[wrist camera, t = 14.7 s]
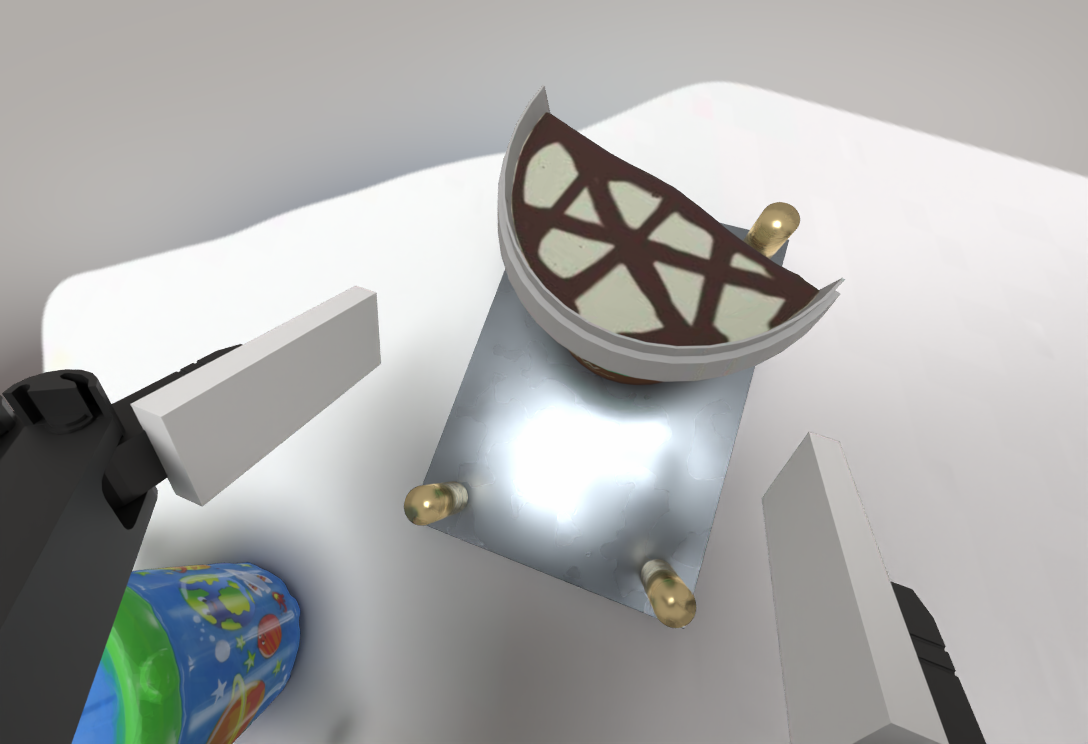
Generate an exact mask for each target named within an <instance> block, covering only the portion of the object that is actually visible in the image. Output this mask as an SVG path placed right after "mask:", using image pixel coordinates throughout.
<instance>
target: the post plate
mask: <svg viewBox="0 0 1088 744" xmlns="http://www.w3.org/2000/svg"><path fill="white" fill-rule="evenodd" d="M799 223H800V216H799V213H798V211H797V210H796V209H795V208H794V207H793V206H791V205H790V204H787V203H783V202H777V203H773V204H770V205H769V206H767V207H766V208H765V209H764V211H763V212H762V214H761V215H760V216H759V218H758V219H757V221H756V222H755V224H754V225H753V227H752V228H751V229H750V230H747V229H743V228H739V227H734V226H730V225H726V224H722V223H720V224H722V225H723V226H724V227H725V228H726V229H728V230H729V231H730V232H732V233H733V234H734V235H736V236H737V237H738V238H740V239H741V240H742V241H744V242H745V243H747V244H748V245H750V246H751V247H753V248H754V249H756V250H757V251H758V252H760V253H761V254H763V255H764V256H766V257H767V258H769V259H770V260H772V261H773V262H775V263H776V264H778V265H780V266H782V264H783V260H784V257H785V253H786V249H787V246H788V242H789V240H787V239H788V238H789V237H790V236H791V235H792V234H793V232H794V231H795V230H796V229H797V228H798V226H799ZM754 368H755V366H753V367H750V368H748V369H745V370H742V371H739V372H736V373H733V374H730V375H727V376H722V377H716V378H710V379H705V380H699V381H674V382H662V383H657V384H652V385H630V384H622V383H618V382H614V381H611V380H607V379H605V378H603V377H601V376H598V375H596V374H594V373H593V372H591V371H590V370H588V369H587V368H585V367H584V366H582V365H581V364H580V363H579V362H578V361H577V360H576V359H575V358H574V357H573V356H572V355H571V353H570V352H569V350H568V349H567V348H565V347H564V346H562V345H561V344H560V343H558V342H557V341H556V340H554V339H553V338H552V337H551V336H550V335H549V334H548V333H547V332H546V331H545V330H544V329H543V328H542V327H541V326H540V325H538V324H537V323H536V321H535V320H534V319H533V317H532V316H531V315H530V313H529V312H528V311H527V309H526V308H525V307H524V306H523V304H522V303H521V301H520V299H519V298H518V296H517V294H516V292H515V290H514V288H513V286H512V284H511V282H510V280H509V278H508V275H507V272H506V269H505V271H504V274H503V276H502V279H501V282H500V284H499V287H498V289H497V292H496V295H495V297H494V300H493V303H492V305H491V308H490V310H489V313H488V316H487V318H486V321H485V323H484V326H483V329H482V331H481V334H480V337H479V339H478V342H477V344H476V347H475V350H474V352H473V355H472V357H471V360H470V363H469V365H468V368H467V370H466V373H465V376H464V378H463V381H462V384H461V386H460V389H459V391H458V394H457V397H456V399H455V402H454V404H453V407H452V410H451V412H450V415H449V417H448V420H447V423H446V425H445V428H444V431H443V433H442V436H441V438H440V441H439V444H438V446H437V449H436V451H435V454H434V457H433V459H432V462H431V465H430V467H429V470H428V472H427V475H426V478H425V480H424V483H423V485H422V486H418V487H415V488H414V489H412V490H411V491H410V492H409V493H408V495H407V496H406V499H405V502H404V511H405V514H406V516H407V518H408V519H409V520H410V521H411V522H412V523H414V524H416V525H427V526H429V527H431V528H434V529H436V530H439V531H441V532H444V533H446V534H449V535H451V536H454V537H456V538H459V539H461V540H464V541H466V542H469V543H471V544H474V545H476V546H479V547H481V548H484V549H486V550H489V551H491V552H494V553H496V554H499V555H501V556H504V557H506V558H508V559H511V560H513V561H516V562H518V563H521V564H523V565H526V566H528V567H531V568H533V569H536V570H538V571H541V572H543V573H546V574H548V575H551V576H553V577H556V578H558V579H561V580H563V581H566V582H568V583H571V584H573V585H576V586H578V587H581V588H583V589H585V590H588V591H590V592H593V593H595V594H598V595H600V596H603V597H605V598H608V599H610V600H613V601H615V602H618V603H620V604H623V605H625V606H628V607H630V608H633V609H635V610H638V611H640V612H643V613H645V614H648V615H650V616H653V617H655V618H658V619H659V620H660V621H661V622H662V623H663V624H665V625H666V626H668V627H672V628H682V629H684V628H685V626H686V625H687V624H689V623H690V622H691V621H692V619H693V618H694V616H695V612H696V601H695V598H694V596H693V594H694V590H695V587H696V583H697V579H698V576H699V572H700V568H701V565H702V561H703V557H704V553H705V550H706V546H707V542H708V539H709V535H710V531H711V527H712V524H713V520H714V516H715V513H716V509H717V505H718V501H719V498H720V494H721V490H722V487H723V483H724V479H725V476H726V472H727V468H728V464H729V461H730V457H731V453H732V450H733V446H734V442H735V438H736V435H737V431H738V427H739V424H740V420H741V416H742V412H743V409H744V405H745V401H746V398H747V394H748V390H749V387H750V383H751V379H752V375H753V372H754Z"/></svg>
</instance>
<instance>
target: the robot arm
mask: <svg viewBox="0 0 1088 744" xmlns="http://www.w3.org/2000/svg"><path fill="white" fill-rule="evenodd" d="M380 364H381V357H380V341H379V326H378V310H377V295H376V292H373V291H370V290H367V289H364V288H361V287H358V286H354V287H352V288H350V289H348V290H346V291H345V292H343V293H341V294H339V295H337V296H335V297H333V298H331V299H329V300H327V301H326V302H324V303H322V304H320V305H318V306H316V307H314V308H312V309H310V310H308V311H307V312H305V313H303V314H301V315H299V316H297V317H295V318H293V319H291V320H289V321H288V322H286V323H284V324H282V325H280V326H278V327H276V328H274V329H272V330H270V331H268V332H267V333H265V334H263V335H261V336H259V337H257V338H255V339H253V340H251V341H249V342H248V343H246V344H244V345H242V344H239V345H236V346H232V347H228V348H225V349H221V350H218V351H215V352H213V353H212V354H210V355H208V356H206V357H204V358H202V359H200V360H198V361H197V363H196V364H194V363H192V364H190V365H188V366H186V367H184V368H182V369H181V370H180V372H174V373H172V374H170V375H168V376H166V377H164V378H163V379H161V380H159V381H157V382H155V383H153V384H151V385H149V386H147V387H145V388H143V389H141V390H139V391H137V392H135V393H133V394H131V395H129V396H127V397H125V398H123V399H121V400H119V401H117V402H115V403H113V404H111V403H110V401H109V399H108V397H107V395H106V393H105V391H104V390H103V388H102V386H101V384H100V382H99V380H98V379H97V377H96V376H95V375H94V374H93V373H91V372H87V371H84V370H67V369H65V370H58V371H51V372H46V373H42V374H39V375H36V376H32V377H29V378H27V379H24V380H22V381H21V382H18V383H16V384H14V385H12V386H11V387H10V388H8V389H7V390H6V391H5V392H3V393H2V394H3V396H4V397H5V398H6V400H7V401H8V402H9V404H10V405H11V407H12V408H13V410H14V411H12V410H11V409H10V407H9V406H8V404H7V403H6V401H5V400H4V399H3V397H2V396H0V744H72V741H73V738H74V735H75V732H76V730H77V727H78V724H79V721H80V718H81V715H82V712H83V710H84V707H85V704H86V701H87V698H88V695H89V692H90V689H91V687H92V684H93V681H94V678H95V675H96V672H97V669H98V667H99V664H100V661H101V658H102V655H103V652H104V649H105V647H106V644H107V641H108V638H109V635H110V632H111V629H112V627H113V624H114V621H115V618H116V615H117V612H118V609H119V607H120V604H121V601H122V598H123V595H124V592H125V589H126V586H127V584H128V581H129V578H130V575H131V572H132V569H133V566H134V564H135V561H136V558H137V555H138V552H139V549H140V546H141V544H142V541H143V538H144V535H145V532H146V529H147V526H148V524H149V521H150V518H151V515H152V512H153V509H154V506H155V504H156V501H157V494H158V490H157V488H156V485H157V484H158V483H160V482H161V481H163V480H164V479H166V478H168V480H169V482H170V484H171V486H172V488H173V490H174V492H175V494H176V495H178V496H180V497H183V498H185V499H187V500H189V501H191V502H194V503H196V504H198V505H200V506H204V505H205V504H206V503H207V502H209V501H210V500H211V499H212V498H214V497H215V496H216V495H217V494H219V493H220V492H221V491H222V490H224V489H225V488H226V487H227V486H229V485H230V484H231V483H232V482H234V481H235V480H236V479H237V478H239V477H240V476H241V475H242V474H244V473H245V472H246V471H247V470H249V469H250V468H251V467H252V466H254V465H255V464H256V463H257V462H259V461H260V460H261V459H262V458H264V457H265V456H266V455H267V454H269V453H270V452H271V451H272V450H274V449H275V448H276V447H277V446H279V445H280V444H281V443H282V442H284V441H285V440H286V439H287V438H289V437H290V436H291V435H292V434H294V433H295V432H296V431H297V430H299V429H300V428H301V427H302V426H304V425H305V424H306V423H307V422H309V421H310V420H311V419H312V418H314V417H315V416H316V415H317V414H319V413H320V412H321V411H322V410H324V409H325V408H326V407H327V406H329V405H330V404H331V403H332V402H334V401H335V400H336V399H337V398H339V397H340V396H341V395H342V394H344V393H345V392H346V391H347V390H349V389H350V388H351V387H352V386H354V385H355V384H356V383H357V382H359V381H360V380H361V379H362V378H364V377H365V376H366V375H367V374H369V373H370V372H371V371H372V370H374V369H375V368H376V367H377V366H379V365H380ZM762 504H763V512H764V521H765V529H766V538H767V546H768V555H769V563H770V572H771V580H772V589H773V597H774V606H775V614H776V623H777V631H778V640H779V648H780V657H781V665H782V674H783V682H784V691H785V699H786V708H787V716H788V725H789V733H790V742H791V744H986V742H985V740H984V737H983V735H982V733H981V730H980V728H979V725H978V723H977V721H976V718H975V716H974V713H973V711H972V709H971V706H970V704H969V702H968V699H967V697H966V694H965V692H964V690H963V687H962V685H961V683H960V680H959V678H958V677H956V676H955V668H954V666H953V663H952V661H951V659H950V656H949V654H948V652H945V650H944V649H945V644H944V642H943V640H942V637H941V635H940V632H939V630H938V628H937V625H936V623H935V621H934V618H933V617H932V615H931V614H930V613H929V611H928V610H927V609H926V607H925V606H924V605H923V603H922V602H921V601H920V599H919V598H918V597H917V595H916V594H915V593H914V591H913V590H912V589H910V588H907V587H904V586H901V585H899V584H896V583H893V582H891V581H890V580H889V577H888V574H887V571H886V569H885V566H884V563H883V560H882V558H881V555H880V552H879V549H878V547H877V544H876V541H875V538H874V536H873V533H872V530H871V527H870V525H869V522H868V519H867V516H866V513H865V511H864V508H863V505H862V502H861V500H860V497H859V494H858V491H857V489H856V486H855V483H854V480H853V478H852V475H851V472H850V469H849V467H848V464H847V461H846V458H845V455H844V453H843V450H842V447H841V444H840V442H839V441H836V440H833V439H830V438H827V437H824V436H821V435H817V434H814V433H811V432H808V434H807V435H806V437H805V438H804V439H803V441H802V442H801V444H800V445H799V447H798V448H797V449H796V451H795V452H794V454H793V455H792V456H791V458H790V459H789V461H788V462H787V464H786V465H785V466H784V468H783V469H782V471H781V472H780V473H779V475H778V476H777V478H776V479H775V480H774V482H773V483H772V485H771V486H770V488H769V489H768V490H767V492H766V493H765V495H764V496H763V497H762Z"/></svg>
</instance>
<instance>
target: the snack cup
mask: <svg viewBox="0 0 1088 744" xmlns="http://www.w3.org/2000/svg"><path fill="white" fill-rule="evenodd" d="M299 616H300V608H299V605H298V603H297V600H296V599H295V598H293V597H292V596H291V595H290V593H289V592H288V590H287V587H286V585H285V584H284V582H283V581H282V580H281V579H280V578H278V577H277V576H275V575H273V574H272V573H270V572H269V571H267V570H264V569H261V568H260V567H258V566H256V565H253V564H251V563H248V562H246V563H237V564H232V563H216V564H208V565H192V566H181V567H169V568H157V569H147V570H138V571H133V572H131V575H130V578H129V581H128V584H127V586H126V589H125V592H124V595H123V598H122V601H121V604H120V607H119V609H118V612H117V615H116V618H115V621H114V624H113V627H112V629H111V632H110V635H109V638H108V641H107V644H106V647H105V649H104V652H103V655H102V658H101V661H100V664H99V667H98V669H97V672H96V675H95V678H94V681H93V684H92V687H91V689H90V692H89V695H88V698H87V701H86V704H85V707H84V710H83V712H82V715H81V718H80V721H79V724H78V727H77V730H76V732H75V735H74V738H73V741H72V744H232V743H233V742H234V741H235V740H236V739H237V738H238V737H239V736H240V735H241V734H242V733H243V732H244V731H245V730H246V729H247V728H248V727H249V726H250V725H251V723H252V722H253V721H254V720H255V719H256V718H257V717H258V716H259V715H260V714H261V713H262V712H263V711H264V710H265V709H266V708H267V707H268V706H269V705H270V703H271V702H272V701H273V700H274V699H275V698H276V697H277V696H278V695H279V693H280V692H281V691H282V690H283V689H284V687H285V685H286V683H287V681H288V680H289V678H290V676H291V675H290V673H291V670H292V668H293V666H294V662H295V659H296V655H297V652H298V648H299V642H300V627H299Z"/></svg>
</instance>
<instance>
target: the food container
mask: <svg viewBox="0 0 1088 744" xmlns="http://www.w3.org/2000/svg"><path fill="white" fill-rule="evenodd" d="M498 236H499V243H500V250H501V256H502V259H503V262H504V266H505V269H506V272H507V275H508V278H509V280H510V282H511V284H512V286H513V288H514V290H515V292H516V294H517V296H518V298H519V299H520V301H521V303H522V304H523V306H524V307H525V308H526V309H527V311H528V312H529V313H530V315H531V316H532V317H533V319H534V320H535V321H536V323H537V324H538V325H540V326H541V327H542V328H543V329H544V330H545V331H546V332H547V333H548V334H549V335H550V336H551V337H552V338H553V339H554V340H556V341H557V342H558V343H560V344H561V345H562V346H564V347H565V348H567V349H568V350H569V352H570V353H571V355H572V356H573V357H574V358H575V359H576V360H577V361H578V362H579V363H580V364H581V365H582V366H584V367H585V368H587V369H588V370H590V371H591V372H593V373H594V374H596V375H598V376H601V377H603V378H605V379H607V380H611V381H614V382H618V383H622V384H630V385H652V384H657V383H662V382H674V381H699V380H705V379H710V378H716V377H722V376H727V375H730V374H733V373H736V372H739V371H742V370H745V369H748V368H750V367H753V366H756V365H758V364H760V363H762V362H764V361H765V360H767V359H769V358H771V357H773V356H775V355H777V354H779V353H781V352H782V351H784V350H785V349H786V348H788V347H789V346H790V345H792V344H793V343H794V342H796V341H797V340H798V339H800V338H801V337H802V336H804V335H805V334H806V333H807V332H808V331H809V330H810V329H811V328H812V327H813V326H814V325H815V324H816V323H817V322H818V321H819V319H820V318H821V317H822V316H823V315H824V314H825V313H826V311H827V310H828V309H829V308H830V306H831V305H832V304H833V303H834V301H835V300H836V299H837V297H838V296H839V295H840V293H839V292H837V291H835V290H836V289H837V287H838V286H839V285H840V284H841V283H842V282H843V281H844V280H845V279H843V278H841V279H839V280H838V281H836V282H834V283H832V284H830V285H828V286H826V287H824V288H822V289H820V290H818V289H816V288H815V287H814V286H812V285H811V284H809V283H808V282H806V281H805V280H804V279H803V278H802V277H800V276H799V275H797V274H795V273H793V272H791V271H788V270H787V269H785V268H783V267H782V266H780V265H778V264H776V263H775V262H773V261H772V260H770V259H769V258H767V257H766V256H764V255H763V254H761V253H760V252H758V251H757V250H756V249H754V248H753V247H751V246H750V245H748V244H747V243H745V242H744V241H742V240H741V239H740V238H738V237H737V236H736V235H734V234H733V233H732V232H730V231H729V230H728V229H726V228H725V227H724V226H723V225H722V224H720V223H719V222H718V221H717V220H715V219H714V218H713V217H712V216H710V215H709V214H708V213H707V212H706V211H704V210H703V209H702V208H701V207H699V206H698V205H697V204H695V203H694V202H693V201H691V200H690V199H689V198H687V197H686V196H685V195H684V194H682V193H681V192H680V191H678V190H677V189H676V188H674V187H673V186H671V185H669V184H667V183H665V182H663V181H662V180H660V179H658V178H656V177H655V176H653V175H651V174H649V173H647V172H645V171H643V170H641V169H639V168H637V167H635V166H633V165H631V164H629V163H627V162H625V161H624V160H622V159H620V158H618V157H616V156H614V155H613V154H611V153H609V152H608V151H606V150H605V149H603V148H602V147H600V146H599V145H597V144H595V143H594V142H592V141H591V140H589V139H588V138H586V137H585V136H583V135H582V134H580V133H579V132H577V131H576V130H574V129H573V128H571V127H570V126H568V125H567V124H565V123H564V122H562V121H561V120H559V119H558V118H556V117H555V116H553V115H552V114H550V110H549V105H548V100H547V95H546V90H545V86H544V85H542V86H541V88H540V89H539V90H538V92H537V93H536V94H535V95H534V97H533V98H532V99H531V100H530V102H529V103H528V105H527V106H526V108H525V110H524V111H523V113H522V115H521V117H520V118H519V120H518V122H517V124H516V126H515V129H514V132H513V134H512V136H511V139H510V142H509V145H508V147H507V151H506V154H505V157H504V159H503V164H502V169H501V173H500V178H499V183H498Z"/></svg>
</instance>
